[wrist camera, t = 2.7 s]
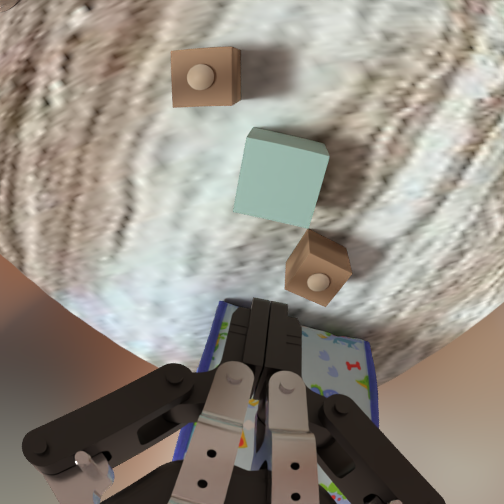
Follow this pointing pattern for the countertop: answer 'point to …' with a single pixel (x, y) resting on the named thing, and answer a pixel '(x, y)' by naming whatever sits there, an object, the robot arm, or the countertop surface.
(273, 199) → the plain block
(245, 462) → the lunch bag
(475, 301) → the countertop surface
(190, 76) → the dotted cube
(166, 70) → the countertop surface
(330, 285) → the dotted cube
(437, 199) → the countertop surface
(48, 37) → the countertop surface
